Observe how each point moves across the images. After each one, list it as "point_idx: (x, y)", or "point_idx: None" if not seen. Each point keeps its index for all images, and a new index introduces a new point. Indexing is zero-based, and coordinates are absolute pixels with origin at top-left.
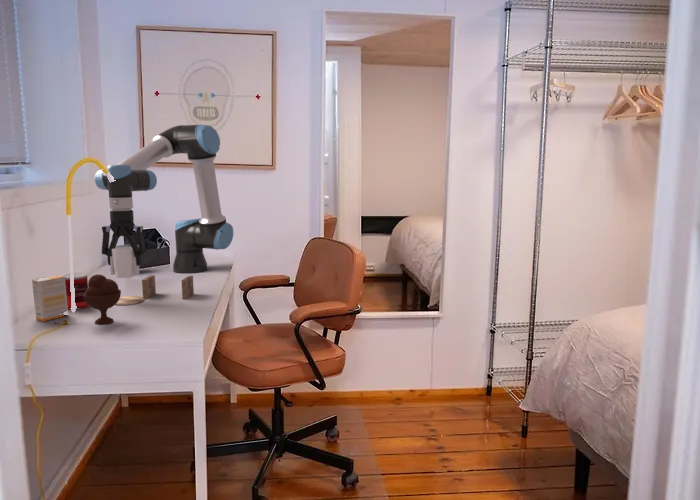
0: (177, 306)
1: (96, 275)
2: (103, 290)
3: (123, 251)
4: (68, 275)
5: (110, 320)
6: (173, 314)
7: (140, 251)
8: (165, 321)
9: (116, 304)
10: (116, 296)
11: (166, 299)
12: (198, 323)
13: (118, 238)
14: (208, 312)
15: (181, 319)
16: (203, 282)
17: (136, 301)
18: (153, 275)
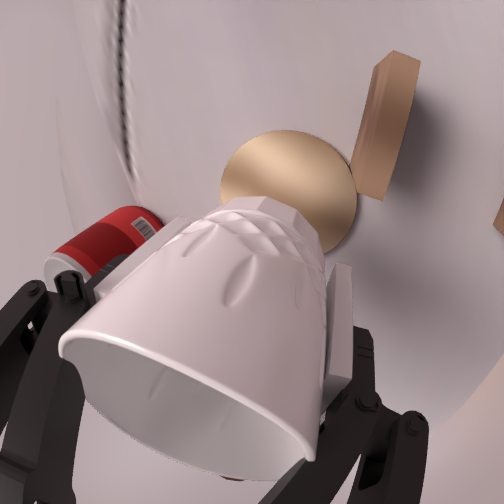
0: (458, 310)
1: (227, 479)
2: None
3: (219, 463)
4: (51, 274)
5: None
6: (426, 371)
7: (364, 467)
8: (397, 402)
9: None
10: None
11: (444, 207)
12: (445, 413)
13: (37, 467)
14: (492, 365)
15: (429, 397)
16: None
17: (331, 241)
18: (414, 69)
